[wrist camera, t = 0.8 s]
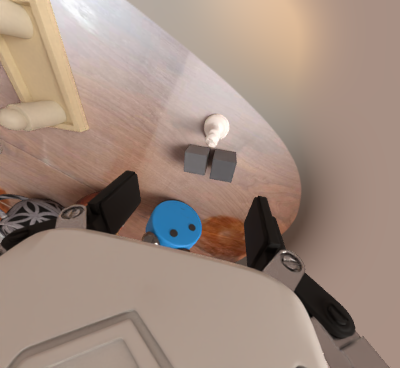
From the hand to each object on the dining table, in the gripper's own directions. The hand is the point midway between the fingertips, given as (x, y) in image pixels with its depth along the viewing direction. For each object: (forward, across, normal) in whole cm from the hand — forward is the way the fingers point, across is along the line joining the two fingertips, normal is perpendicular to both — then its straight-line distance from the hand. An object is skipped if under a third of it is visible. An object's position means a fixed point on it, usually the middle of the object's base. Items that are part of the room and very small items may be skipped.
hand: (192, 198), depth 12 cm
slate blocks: (+22, 0, +6) cm, 23 cm away
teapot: (+22, +54, +40) cm, 71 cm away
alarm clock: (+22, +6, +24) cm, 33 cm away
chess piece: (+22, 0, 0) cm, 22 cm away
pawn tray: (+22, +35, -5) cm, 42 cm away
